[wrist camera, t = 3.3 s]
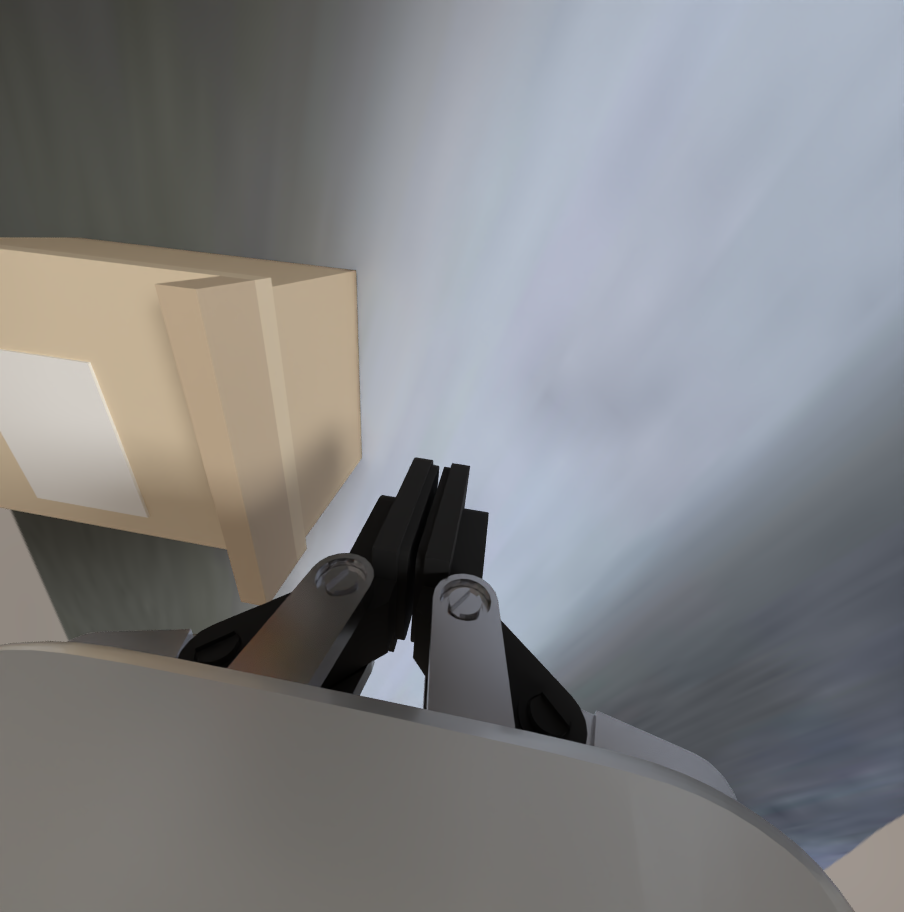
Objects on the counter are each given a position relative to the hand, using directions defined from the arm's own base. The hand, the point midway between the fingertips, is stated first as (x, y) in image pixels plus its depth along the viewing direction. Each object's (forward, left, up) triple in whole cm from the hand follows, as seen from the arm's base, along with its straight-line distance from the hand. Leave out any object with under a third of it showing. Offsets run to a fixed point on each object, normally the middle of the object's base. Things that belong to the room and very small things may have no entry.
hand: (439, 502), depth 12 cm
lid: (+13, 0, -2) cm, 13 cm away
